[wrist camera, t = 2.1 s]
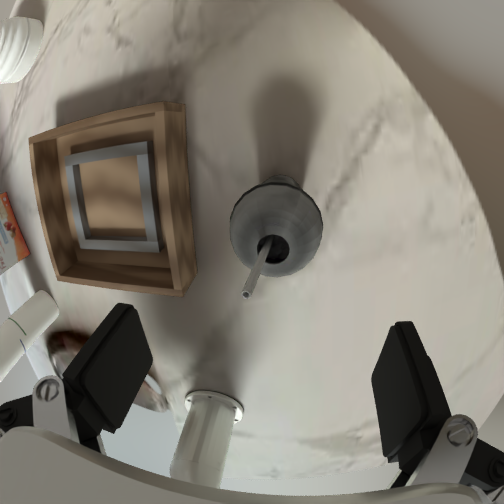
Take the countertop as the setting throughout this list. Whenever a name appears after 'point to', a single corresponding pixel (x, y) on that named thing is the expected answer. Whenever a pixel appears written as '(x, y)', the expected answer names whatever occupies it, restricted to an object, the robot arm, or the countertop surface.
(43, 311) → the cylindrical container
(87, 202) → the walled box
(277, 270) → the beverage cup
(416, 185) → the countertop surface
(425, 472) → the robot arm
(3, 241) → the cracker box
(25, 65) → the honey pot
